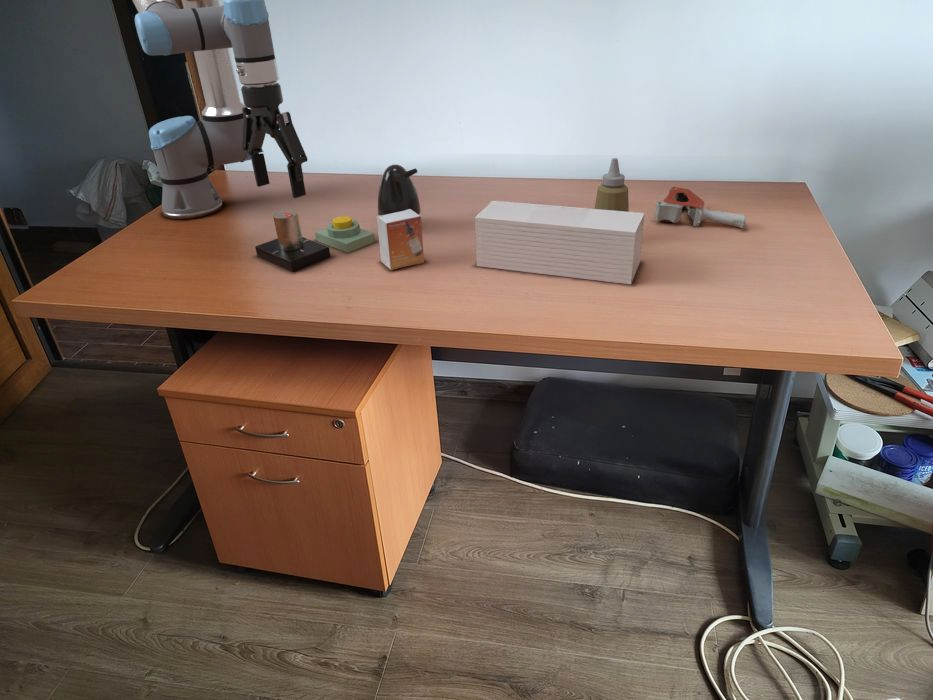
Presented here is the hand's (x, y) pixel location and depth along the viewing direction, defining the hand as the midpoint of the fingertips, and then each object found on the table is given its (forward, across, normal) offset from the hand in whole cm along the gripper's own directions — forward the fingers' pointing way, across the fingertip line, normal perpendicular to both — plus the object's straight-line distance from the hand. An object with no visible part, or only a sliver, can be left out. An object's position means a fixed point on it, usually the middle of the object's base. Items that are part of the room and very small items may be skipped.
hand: (281, 190), depth 141 cm
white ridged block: (+16, +49, +32) cm, 60 cm away
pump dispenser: (+15, +6, +27) cm, 32 cm away
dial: (+13, 0, 0) cm, 13 cm away
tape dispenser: (+16, +59, +71) cm, 94 cm away
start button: (+12, +2, +13) cm, 18 cm away
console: (+15, 0, 0) cm, 15 cm away
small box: (+16, +22, +13) cm, 30 cm away
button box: (+15, +2, +13) cm, 20 cm away
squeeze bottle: (+16, +50, +50) cm, 72 cm away
